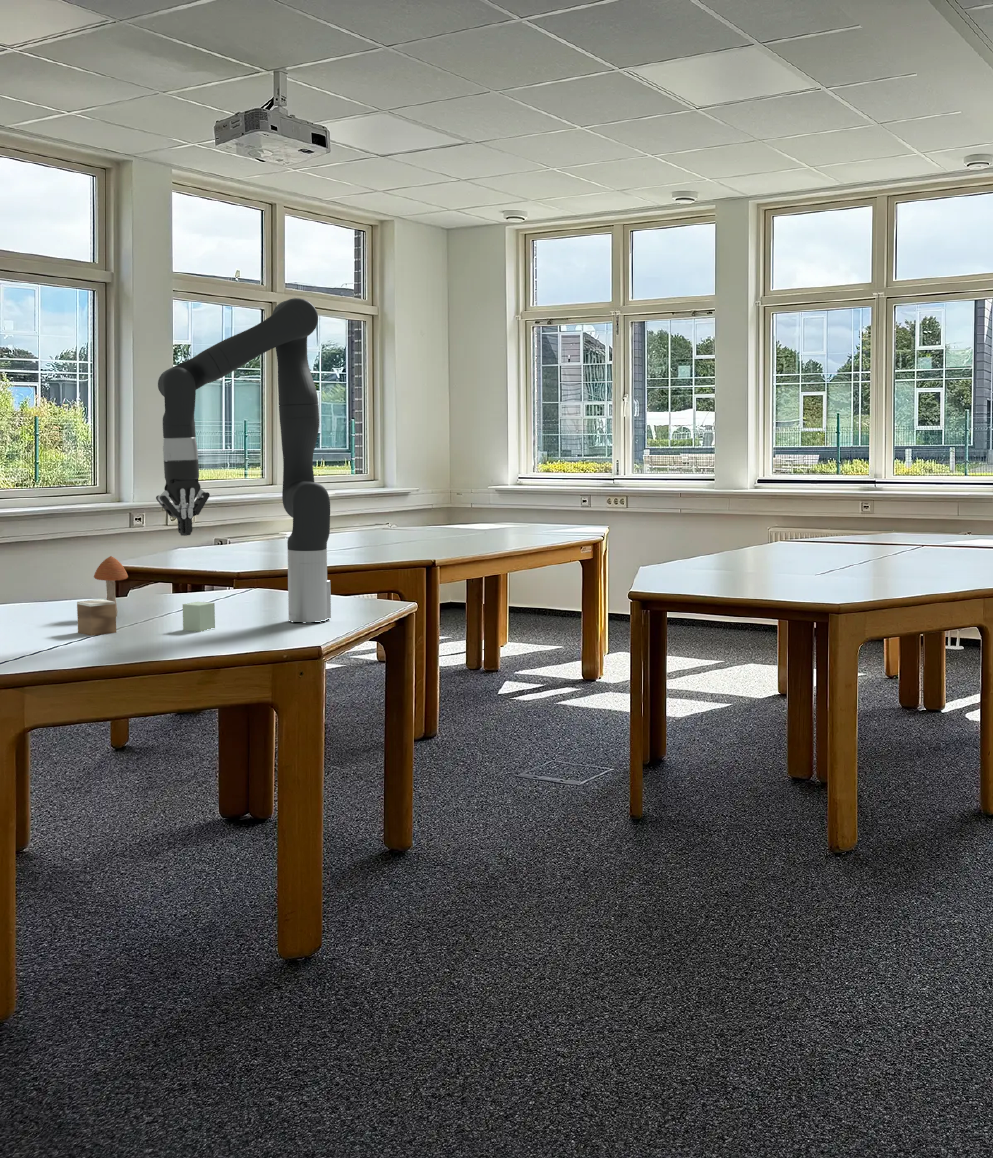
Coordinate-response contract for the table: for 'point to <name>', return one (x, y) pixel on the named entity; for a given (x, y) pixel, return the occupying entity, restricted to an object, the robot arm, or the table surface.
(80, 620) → the walnut block
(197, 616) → the sage block
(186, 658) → the table surface
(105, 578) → the mushroom
